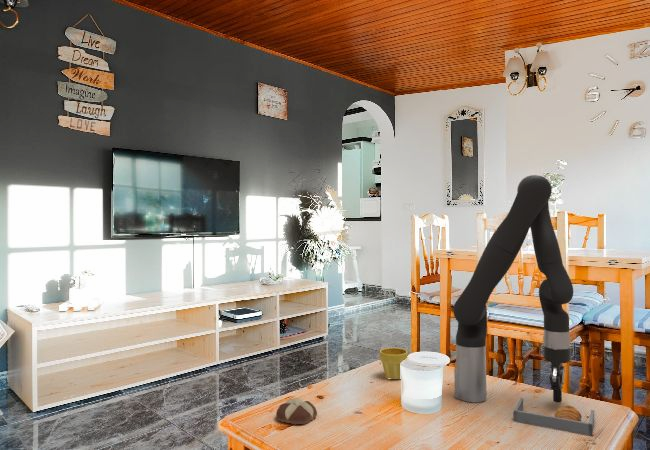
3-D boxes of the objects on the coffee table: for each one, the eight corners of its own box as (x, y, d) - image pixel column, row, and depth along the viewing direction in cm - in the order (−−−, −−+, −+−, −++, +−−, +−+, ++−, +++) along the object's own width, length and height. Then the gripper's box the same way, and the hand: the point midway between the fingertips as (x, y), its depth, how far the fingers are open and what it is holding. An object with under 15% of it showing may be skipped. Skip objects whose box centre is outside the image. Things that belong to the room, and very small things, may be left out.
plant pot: (374, 378, 178) (374, 351, 178) (389, 371, 186) (389, 345, 186) (398, 384, 171) (398, 356, 171) (413, 376, 179) (413, 350, 179)
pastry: (580, 432, 131) (579, 418, 131) (552, 427, 134) (552, 413, 134) (581, 419, 139) (581, 406, 139) (555, 415, 142) (555, 402, 142)
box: (513, 421, 138) (513, 410, 138) (520, 408, 148) (520, 398, 148) (592, 436, 128) (592, 424, 128) (594, 420, 137) (594, 410, 137)
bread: (293, 408, 151) (293, 392, 151) (322, 416, 144) (322, 400, 144) (268, 420, 142) (268, 403, 142) (298, 430, 135) (298, 412, 135)
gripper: (546, 338, 156) (547, 392, 156) (539, 348, 145) (540, 406, 145) (572, 341, 152) (573, 397, 152) (567, 351, 141) (568, 411, 141)
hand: (557, 401), depth 148 cm, fingers closed
